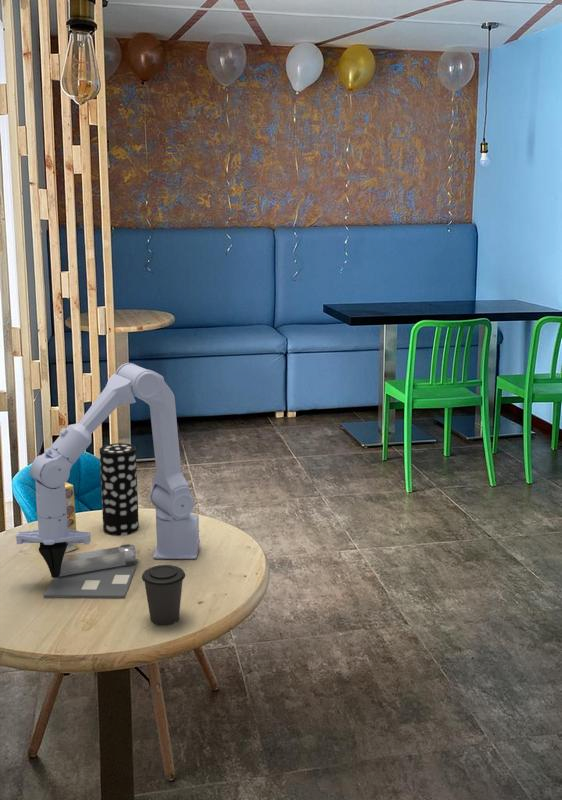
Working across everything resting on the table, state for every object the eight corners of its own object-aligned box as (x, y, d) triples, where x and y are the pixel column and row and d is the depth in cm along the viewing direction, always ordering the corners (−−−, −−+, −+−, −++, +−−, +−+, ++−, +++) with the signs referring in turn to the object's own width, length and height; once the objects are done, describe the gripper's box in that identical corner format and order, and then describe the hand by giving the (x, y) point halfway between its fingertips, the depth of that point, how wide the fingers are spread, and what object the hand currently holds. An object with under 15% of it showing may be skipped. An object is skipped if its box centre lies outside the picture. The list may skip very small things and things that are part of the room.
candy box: (78, 549, 192) (75, 484, 188) (61, 554, 189) (57, 489, 185) (58, 537, 198) (54, 474, 194) (41, 542, 195) (37, 479, 191)
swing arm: (133, 556, 186) (133, 543, 185) (137, 563, 182) (137, 549, 182) (54, 570, 179) (54, 556, 178) (57, 577, 176) (56, 562, 175)
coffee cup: (141, 610, 164) (139, 562, 162) (183, 606, 166) (182, 559, 164) (144, 631, 157) (142, 581, 154) (188, 627, 158) (187, 577, 156)
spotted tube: (100, 524, 205) (96, 445, 200) (135, 520, 208) (132, 441, 203) (106, 537, 198) (102, 455, 193) (142, 533, 201) (139, 451, 196)
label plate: (138, 561, 185) (138, 558, 185) (124, 598, 169) (124, 594, 169) (64, 561, 185) (64, 557, 185) (43, 597, 169) (43, 594, 169)
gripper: (9, 520, 167) (14, 584, 170) (83, 521, 167) (87, 584, 170) (20, 507, 174) (24, 568, 177) (91, 507, 174) (94, 569, 177)
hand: (56, 575), depth 174 cm, fingers closed
